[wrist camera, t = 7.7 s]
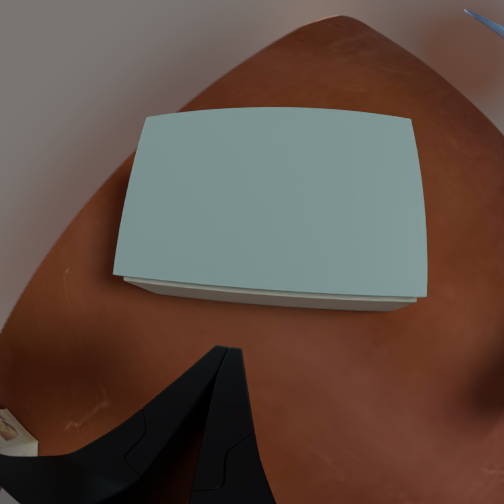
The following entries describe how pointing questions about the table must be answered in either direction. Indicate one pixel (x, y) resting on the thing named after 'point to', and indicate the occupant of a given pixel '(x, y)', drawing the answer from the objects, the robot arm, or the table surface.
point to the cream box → (272, 296)
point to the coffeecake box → (15, 437)
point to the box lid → (277, 202)
